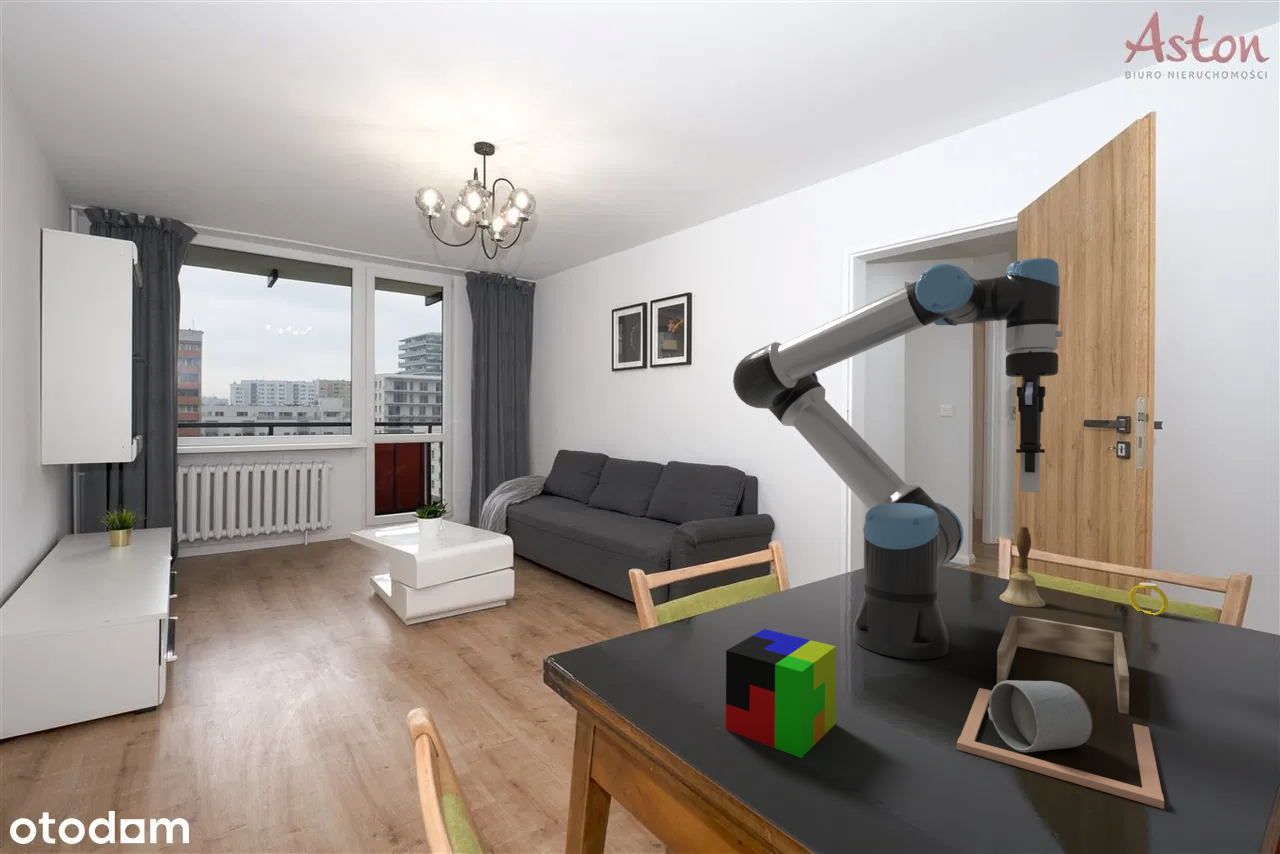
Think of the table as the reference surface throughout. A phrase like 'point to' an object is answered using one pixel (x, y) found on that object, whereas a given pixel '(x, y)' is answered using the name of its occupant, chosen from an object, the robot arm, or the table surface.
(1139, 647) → the table surface
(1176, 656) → the table surface
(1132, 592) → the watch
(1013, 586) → the hand bell
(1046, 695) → the ceramic mug
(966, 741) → the terracotta bay
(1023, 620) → the frame
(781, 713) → the puzzle toy
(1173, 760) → the table surface
